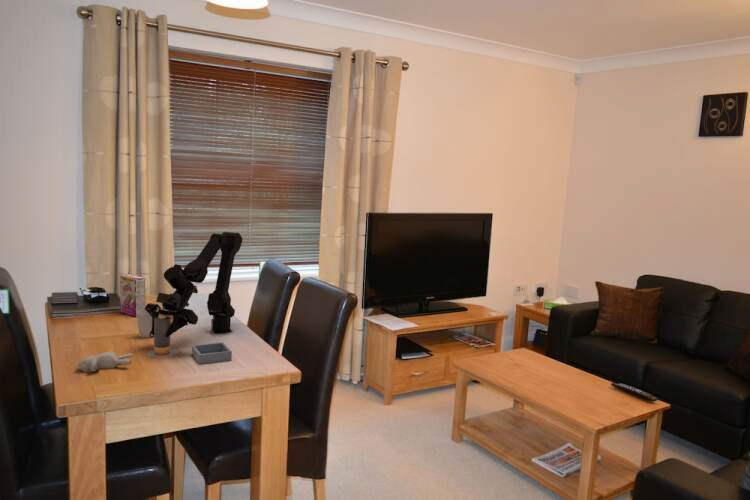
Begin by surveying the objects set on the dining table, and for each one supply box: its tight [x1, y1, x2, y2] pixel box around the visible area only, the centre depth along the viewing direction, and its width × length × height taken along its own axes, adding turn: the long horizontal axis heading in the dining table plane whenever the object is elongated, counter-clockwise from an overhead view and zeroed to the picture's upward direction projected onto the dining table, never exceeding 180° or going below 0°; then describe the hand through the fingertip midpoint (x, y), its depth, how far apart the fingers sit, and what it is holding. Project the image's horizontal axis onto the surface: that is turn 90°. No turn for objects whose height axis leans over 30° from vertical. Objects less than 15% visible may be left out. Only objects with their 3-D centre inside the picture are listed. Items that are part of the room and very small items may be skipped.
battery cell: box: [153, 315, 171, 355], centre depth 190 cm, size 5×5×13 cm
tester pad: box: [145, 348, 179, 359], centre depth 191 cm, size 10×10×1 cm
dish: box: [191, 341, 233, 365], centre depth 190 cm, size 11×11×4 cm
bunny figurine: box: [77, 350, 134, 373], centre depth 177 cm, size 10×5×15 cm
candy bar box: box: [119, 273, 146, 318], centre depth 239 cm, size 11×5×16 cm, turn 58°
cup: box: [136, 309, 154, 339], centre depth 209 cm, size 8×8×10 cm
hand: (159, 335), depth 189 cm, fingers open, 6 cm apart
